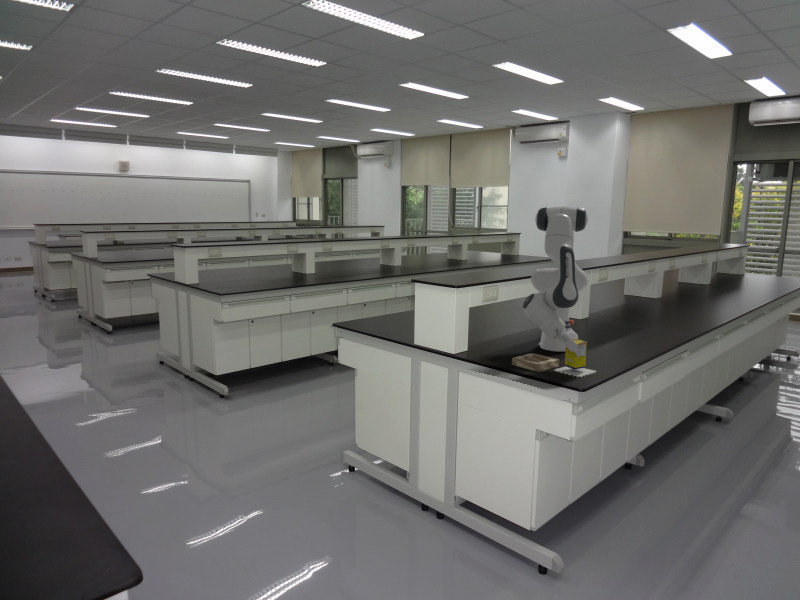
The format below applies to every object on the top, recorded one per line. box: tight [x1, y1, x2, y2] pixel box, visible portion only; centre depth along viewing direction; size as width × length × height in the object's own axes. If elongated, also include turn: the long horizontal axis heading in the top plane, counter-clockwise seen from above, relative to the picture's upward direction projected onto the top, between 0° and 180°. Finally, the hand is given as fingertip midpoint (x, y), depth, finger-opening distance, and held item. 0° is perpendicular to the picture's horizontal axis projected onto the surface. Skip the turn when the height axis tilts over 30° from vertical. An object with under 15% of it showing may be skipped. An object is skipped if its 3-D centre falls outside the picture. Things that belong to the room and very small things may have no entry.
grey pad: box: [553, 365, 597, 378], centre depth 219 cm, size 12×12×1 cm
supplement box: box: [564, 338, 588, 369], centre depth 218 cm, size 6×6×11 cm
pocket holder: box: [511, 352, 560, 373], centre depth 228 cm, size 14×14×3 cm
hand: (577, 351), depth 218 cm, fingers closed on supplement box, 8 cm apart
